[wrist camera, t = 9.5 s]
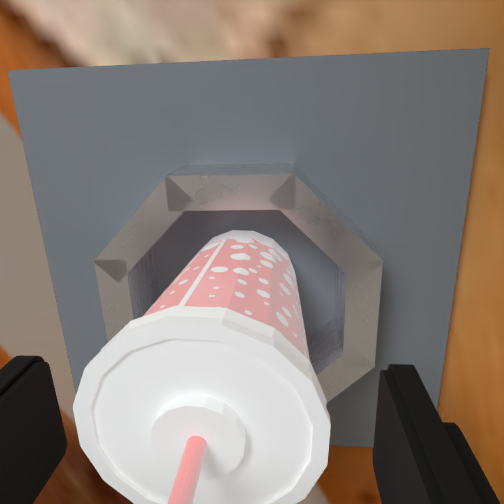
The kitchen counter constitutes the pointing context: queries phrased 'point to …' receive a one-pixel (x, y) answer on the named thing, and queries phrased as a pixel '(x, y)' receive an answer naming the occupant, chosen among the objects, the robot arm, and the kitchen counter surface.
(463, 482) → the robot arm
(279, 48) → the kitchen counter surface
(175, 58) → the kitchen counter surface
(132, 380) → the beverage cup
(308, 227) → the steel collar
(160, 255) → the plate
